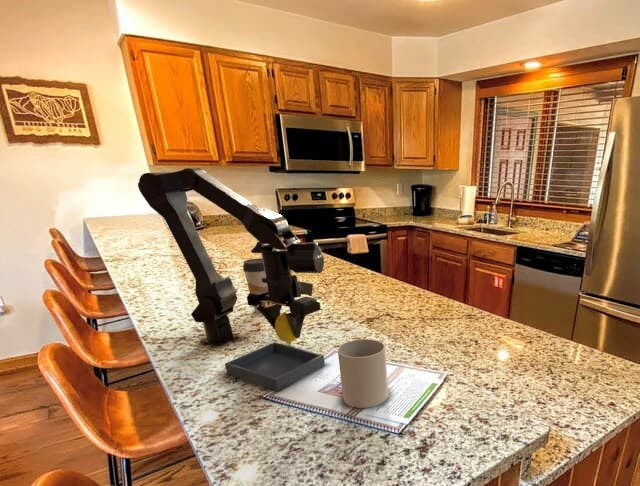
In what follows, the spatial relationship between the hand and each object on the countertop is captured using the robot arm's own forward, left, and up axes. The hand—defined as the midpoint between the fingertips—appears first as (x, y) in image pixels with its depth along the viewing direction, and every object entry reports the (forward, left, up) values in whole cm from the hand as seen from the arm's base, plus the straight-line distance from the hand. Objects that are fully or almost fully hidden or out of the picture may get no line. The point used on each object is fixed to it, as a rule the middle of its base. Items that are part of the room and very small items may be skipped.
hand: (288, 335), depth 104 cm
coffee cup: (-26, +15, -2) cm, 30 cm away
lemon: (0, 0, -2) cm, 2 cm away
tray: (+9, -12, -2) cm, 15 cm away
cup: (+33, -12, -2) cm, 35 cm away
